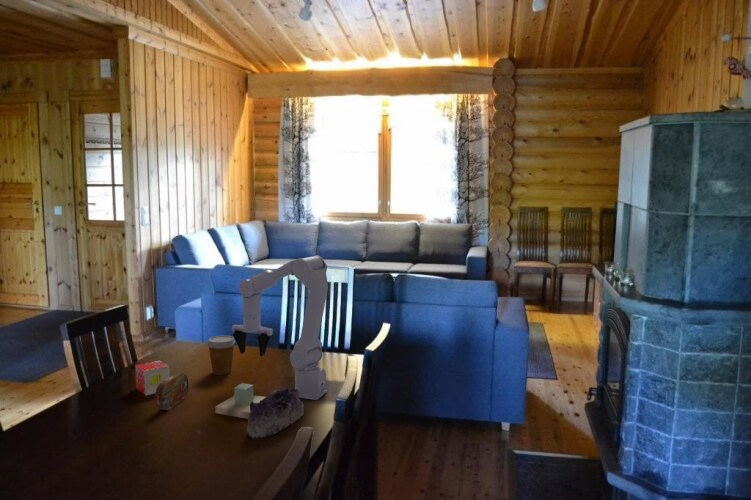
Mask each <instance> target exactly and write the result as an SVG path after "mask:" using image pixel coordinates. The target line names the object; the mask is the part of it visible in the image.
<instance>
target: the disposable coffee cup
mask: <svg viewBox="0 0 751 500" xmlns="http://www.w3.org/2000/svg"><path fill="white" fill-rule="evenodd" d="M235 343H236V340H235V338H234V337H233V335H232V336H231V335H216V336H212V337H209V338H208V341H207V343H206V344H207V346H208V349H209V350H208V351H209V357H210V363H211V364H210V365H211V369H212V374H214V375H216V376H217V375H218V376H224V375H229V374H230V373H232V367H233V365H232V364H233V357H234V347H235Z"/></svg>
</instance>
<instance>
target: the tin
mask: <svg viewBox="0 0 751 500" xmlns="http://www.w3.org/2000/svg"><path fill="white" fill-rule="evenodd" d="M188 391H189V379H188V376H187V375H186V374H185V373H174V374H172V375H170V377H169V378H167V379H166V380H164V381H163V382H161V383H160V384H159V385H158V387H157V389H156V393H154V397H155V403H156V405H155V406H156V407H157V409H159V410H164V411H170V410H172V409H173V408H174V407H176V406H177V405H178V404H180V403H181V402H183V401H184V400H185V398H186V397H187V395H188Z"/></svg>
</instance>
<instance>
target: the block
mask: <svg viewBox="0 0 751 500" xmlns="http://www.w3.org/2000/svg"><path fill="white" fill-rule="evenodd" d="M233 389H234V394H233V395H235V404H238V405H245V406H247V405H249V404H250V403H251V402H253V401H254V384H250V383H242V382H241V383H240V384H238V385H237V386H235V387H234V388H233Z"/></svg>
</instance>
